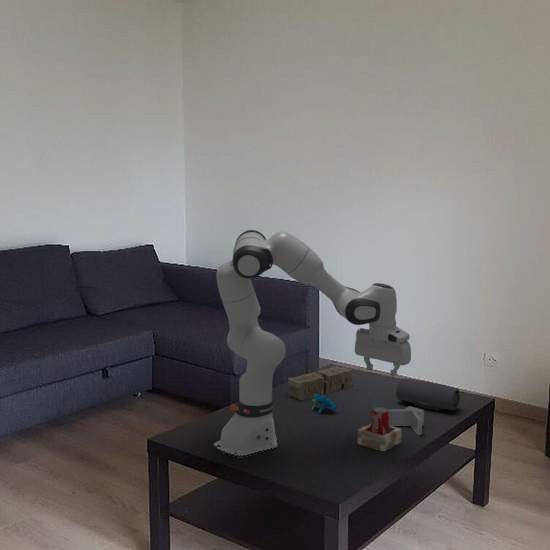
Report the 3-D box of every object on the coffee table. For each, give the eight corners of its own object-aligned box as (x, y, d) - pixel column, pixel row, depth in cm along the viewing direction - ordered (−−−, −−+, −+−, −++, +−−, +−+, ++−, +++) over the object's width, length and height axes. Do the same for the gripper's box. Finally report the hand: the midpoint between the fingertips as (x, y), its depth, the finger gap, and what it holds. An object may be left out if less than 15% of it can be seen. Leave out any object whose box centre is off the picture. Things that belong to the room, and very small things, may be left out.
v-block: (419, 437, 251) (420, 420, 250) (383, 426, 261) (384, 410, 260) (434, 429, 259) (434, 413, 258) (398, 418, 268) (399, 403, 267)
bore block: (384, 452, 239) (384, 437, 238) (357, 443, 246) (357, 429, 245) (401, 442, 247) (401, 428, 246) (375, 434, 253) (375, 421, 253)
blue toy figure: (342, 408, 274) (327, 394, 270) (335, 422, 272) (319, 407, 267) (323, 404, 283) (308, 390, 278) (316, 417, 281) (300, 403, 276)
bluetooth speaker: (459, 409, 279) (461, 384, 277) (451, 416, 271) (452, 390, 269) (404, 398, 291) (405, 374, 289) (395, 404, 283) (395, 380, 282)
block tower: (338, 384, 311) (286, 397, 292) (339, 365, 310) (287, 376, 291) (351, 389, 305) (299, 402, 286) (352, 369, 304) (300, 381, 285)
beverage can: (388, 447, 243) (389, 413, 241) (369, 446, 244) (370, 412, 242) (388, 440, 249) (389, 406, 247) (370, 439, 250) (371, 405, 248)
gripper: (351, 328, 244) (350, 368, 246) (403, 339, 231) (402, 381, 233) (362, 325, 249) (361, 364, 251) (414, 335, 235) (412, 376, 238)
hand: (381, 372), depth 242 cm, fingers open, 8 cm apart
